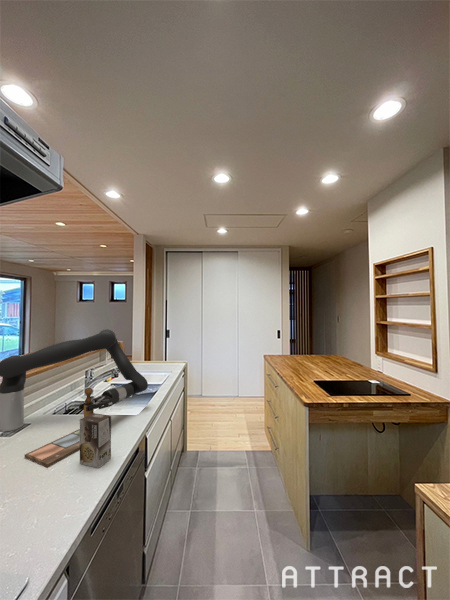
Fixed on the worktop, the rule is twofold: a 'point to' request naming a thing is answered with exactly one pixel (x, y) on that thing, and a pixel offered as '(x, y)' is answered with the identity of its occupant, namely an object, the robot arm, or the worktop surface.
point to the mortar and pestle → (88, 402)
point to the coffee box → (95, 440)
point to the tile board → (56, 450)
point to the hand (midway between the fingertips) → (83, 408)
